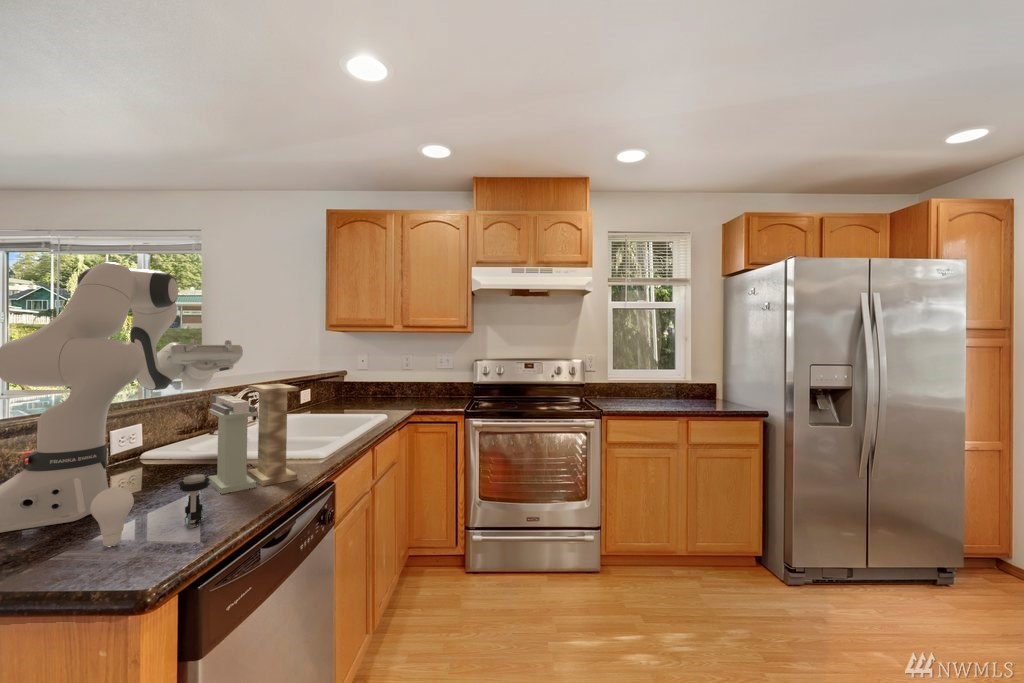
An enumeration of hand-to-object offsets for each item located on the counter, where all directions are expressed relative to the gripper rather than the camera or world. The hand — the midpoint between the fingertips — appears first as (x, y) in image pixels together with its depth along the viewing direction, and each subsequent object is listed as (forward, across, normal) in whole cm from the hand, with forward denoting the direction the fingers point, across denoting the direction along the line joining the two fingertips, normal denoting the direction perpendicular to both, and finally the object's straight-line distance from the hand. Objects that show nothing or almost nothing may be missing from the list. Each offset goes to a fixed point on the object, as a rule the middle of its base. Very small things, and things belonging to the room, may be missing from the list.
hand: (212, 341), depth 148 cm
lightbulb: (+34, -28, +64) cm, 78 cm away
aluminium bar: (+17, -2, +31) cm, 36 cm away
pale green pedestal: (+10, -2, +50) cm, 52 cm away
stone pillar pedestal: (+10, +8, +50) cm, 52 cm away
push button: (+32, -15, +63) cm, 72 cm away
